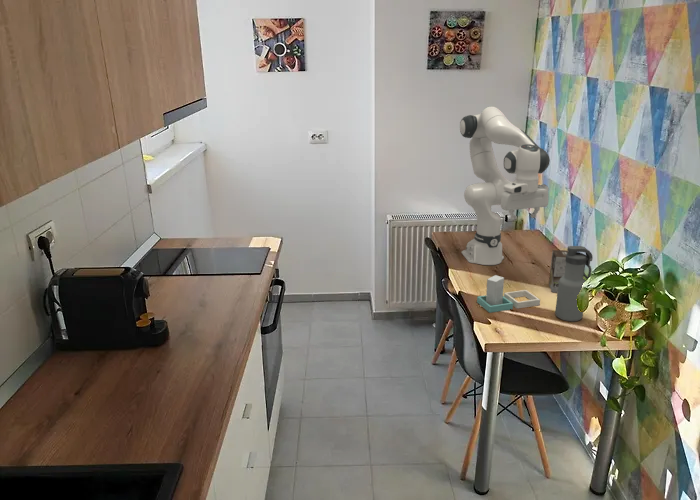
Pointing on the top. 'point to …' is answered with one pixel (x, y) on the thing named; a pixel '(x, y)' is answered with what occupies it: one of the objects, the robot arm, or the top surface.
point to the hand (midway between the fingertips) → (523, 218)
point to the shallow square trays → (510, 301)
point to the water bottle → (572, 283)
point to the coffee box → (557, 268)
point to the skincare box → (495, 290)
